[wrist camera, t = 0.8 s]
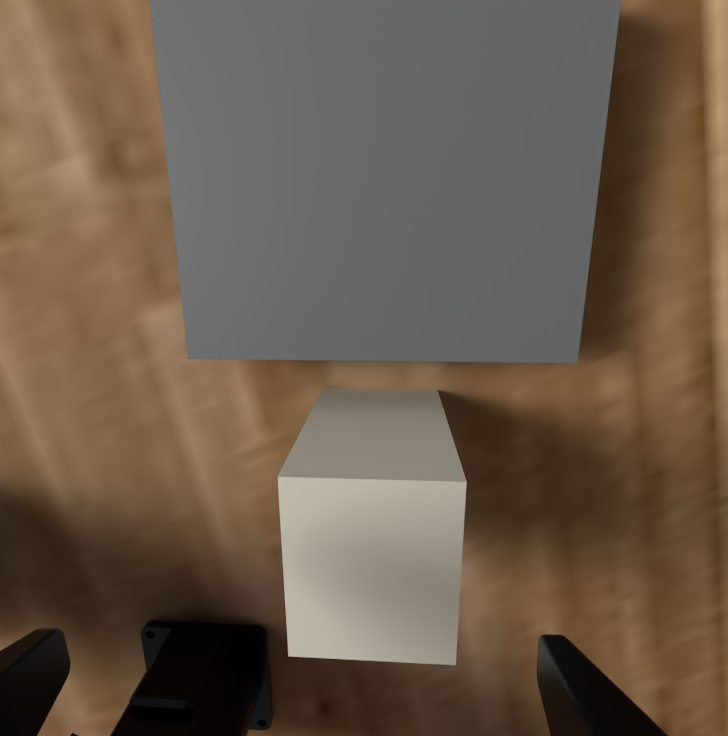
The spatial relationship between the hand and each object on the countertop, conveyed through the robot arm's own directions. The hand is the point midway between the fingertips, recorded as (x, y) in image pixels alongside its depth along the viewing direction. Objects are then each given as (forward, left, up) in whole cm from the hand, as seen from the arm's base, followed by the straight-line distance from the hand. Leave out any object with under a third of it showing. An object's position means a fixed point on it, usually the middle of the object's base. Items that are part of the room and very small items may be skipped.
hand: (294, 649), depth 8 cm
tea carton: (-2, -1, -12) cm, 12 cm away
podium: (+9, -1, -12) cm, 15 cm away
